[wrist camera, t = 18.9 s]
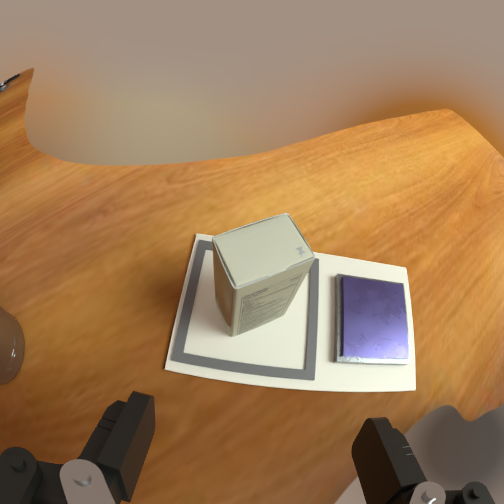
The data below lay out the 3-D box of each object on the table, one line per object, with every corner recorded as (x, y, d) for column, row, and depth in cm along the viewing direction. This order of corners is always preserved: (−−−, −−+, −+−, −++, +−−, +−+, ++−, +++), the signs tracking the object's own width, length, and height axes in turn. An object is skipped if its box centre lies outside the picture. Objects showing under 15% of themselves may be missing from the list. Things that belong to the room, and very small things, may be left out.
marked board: (165, 369, 26) (164, 368, 26) (197, 235, 35) (196, 231, 34) (413, 390, 27) (417, 389, 27) (404, 269, 36) (407, 266, 35)
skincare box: (267, 281, 32) (291, 209, 22) (285, 316, 30) (321, 256, 20) (211, 302, 30) (209, 234, 20) (228, 339, 28) (234, 289, 18)
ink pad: (333, 362, 28) (338, 360, 27) (334, 277, 33) (338, 271, 32) (405, 365, 28) (412, 362, 27) (399, 286, 34) (405, 281, 32)
